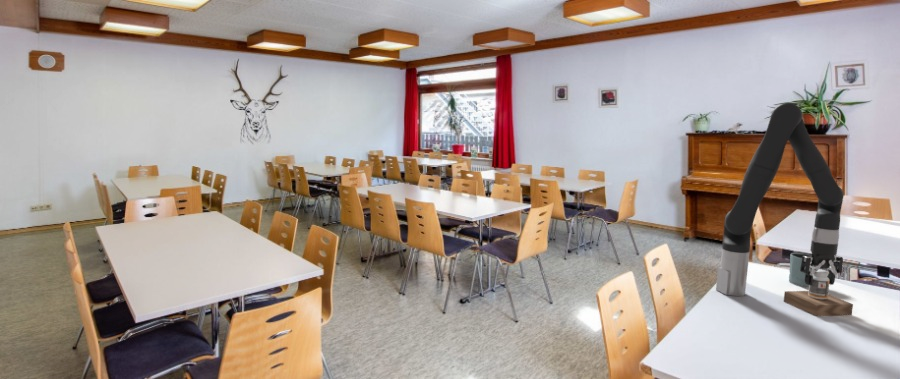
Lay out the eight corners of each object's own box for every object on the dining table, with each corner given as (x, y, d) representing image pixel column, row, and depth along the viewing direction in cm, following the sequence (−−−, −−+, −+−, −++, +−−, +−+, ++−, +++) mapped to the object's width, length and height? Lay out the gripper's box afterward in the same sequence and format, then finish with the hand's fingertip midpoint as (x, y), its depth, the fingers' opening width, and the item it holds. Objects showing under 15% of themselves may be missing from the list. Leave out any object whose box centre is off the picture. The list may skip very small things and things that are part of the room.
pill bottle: (830, 300, 171) (834, 273, 170) (812, 299, 173) (815, 272, 172) (822, 295, 177) (825, 269, 176) (804, 294, 178) (807, 268, 177)
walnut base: (815, 316, 168) (816, 305, 167) (783, 301, 181) (784, 291, 181) (851, 315, 169) (853, 304, 169) (817, 300, 183) (818, 290, 182)
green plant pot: (790, 278, 210) (793, 251, 208) (818, 283, 203) (822, 256, 201) (784, 283, 203) (788, 255, 201) (814, 289, 196) (818, 260, 194)
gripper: (833, 237, 176) (827, 280, 179) (798, 238, 175) (792, 281, 177) (852, 243, 169) (846, 287, 171) (815, 243, 167) (810, 288, 170)
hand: (819, 284), depth 174 cm, fingers open, 8 cm apart
